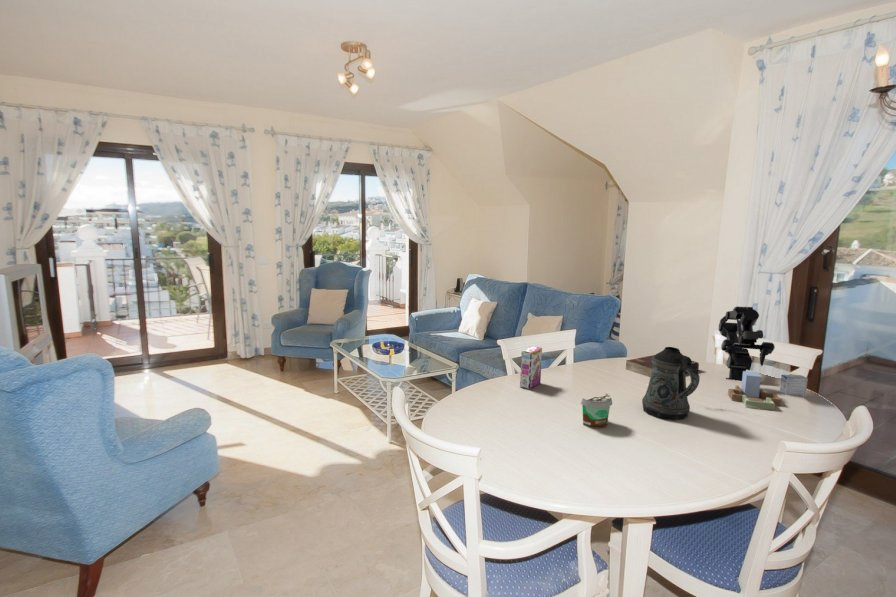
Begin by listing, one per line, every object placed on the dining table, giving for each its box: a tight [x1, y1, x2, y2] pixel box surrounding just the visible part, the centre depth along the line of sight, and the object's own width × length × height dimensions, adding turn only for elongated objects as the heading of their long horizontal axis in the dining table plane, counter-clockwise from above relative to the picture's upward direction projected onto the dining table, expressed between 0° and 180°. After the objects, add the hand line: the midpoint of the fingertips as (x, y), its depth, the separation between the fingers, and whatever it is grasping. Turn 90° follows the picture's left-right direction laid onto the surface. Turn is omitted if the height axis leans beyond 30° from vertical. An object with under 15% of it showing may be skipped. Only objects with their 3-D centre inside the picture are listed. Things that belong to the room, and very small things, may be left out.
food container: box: [580, 393, 613, 429], centre depth 169 cm, size 12×6×10 cm, turn 117°
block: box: [740, 370, 762, 398], centre depth 195 cm, size 6×5×9 cm
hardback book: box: [625, 354, 700, 378], centre depth 234 cm, size 29×19×5 cm, turn 119°
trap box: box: [727, 385, 782, 411], centre depth 190 cm, size 19×16×4 cm
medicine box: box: [779, 374, 809, 399], centre depth 199 cm, size 8×4×9 cm, turn 84°
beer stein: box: [641, 346, 701, 421], centre depth 179 cm, size 16×19×25 cm
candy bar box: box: [519, 346, 543, 390], centre depth 210 cm, size 11×5×16 cm, turn 144°
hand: (749, 364), depth 201 cm, fingers open, 9 cm apart
